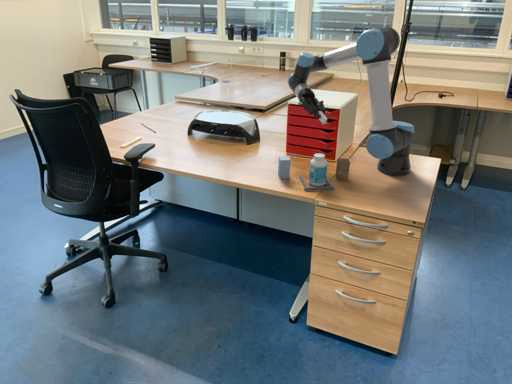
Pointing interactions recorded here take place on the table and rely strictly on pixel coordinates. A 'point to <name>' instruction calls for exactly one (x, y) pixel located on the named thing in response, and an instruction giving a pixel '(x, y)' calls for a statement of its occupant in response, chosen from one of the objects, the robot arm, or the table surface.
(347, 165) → the walnut block
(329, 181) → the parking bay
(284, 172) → the slate-blue block
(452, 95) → the table surface
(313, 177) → the pill bottle
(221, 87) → the table surface
